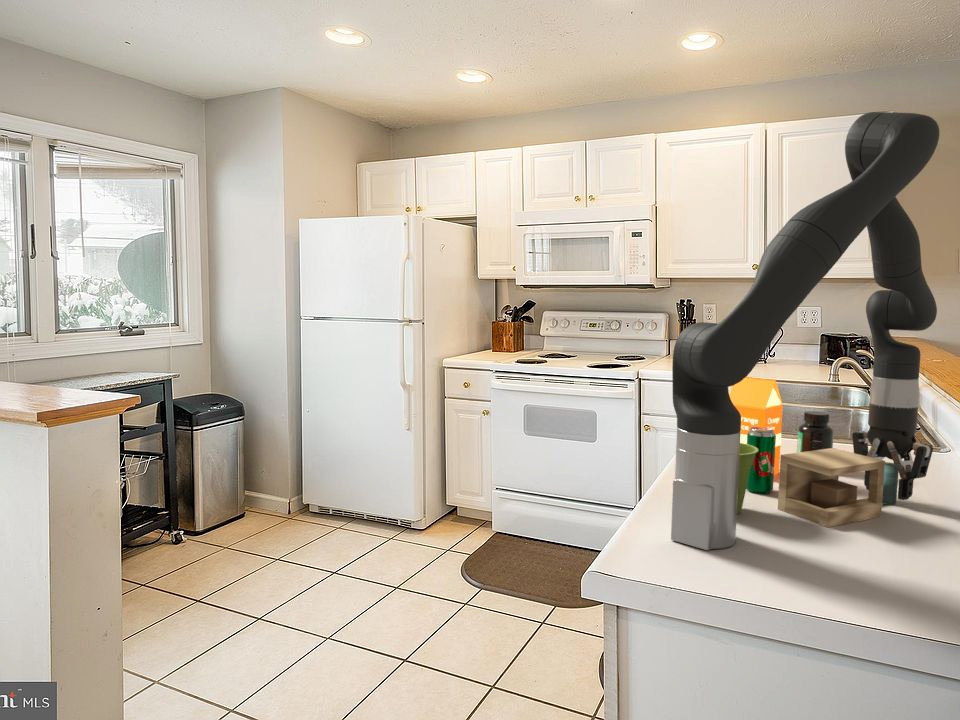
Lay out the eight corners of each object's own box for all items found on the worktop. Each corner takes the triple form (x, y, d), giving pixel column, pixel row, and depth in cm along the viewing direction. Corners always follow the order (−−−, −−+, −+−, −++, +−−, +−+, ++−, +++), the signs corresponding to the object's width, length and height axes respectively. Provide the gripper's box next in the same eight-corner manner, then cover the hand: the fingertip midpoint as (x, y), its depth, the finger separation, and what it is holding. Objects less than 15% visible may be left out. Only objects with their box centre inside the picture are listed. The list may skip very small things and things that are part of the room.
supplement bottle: (793, 469, 147) (797, 413, 146) (798, 462, 153) (801, 409, 152) (829, 473, 144) (833, 417, 142) (832, 466, 150) (836, 412, 148)
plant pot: (767, 509, 121) (770, 446, 119) (735, 526, 112) (739, 458, 111) (704, 494, 129) (706, 435, 128) (670, 509, 121) (673, 445, 119)
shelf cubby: (827, 527, 112) (830, 468, 111) (777, 509, 121) (780, 454, 120) (881, 516, 117) (885, 460, 116) (829, 499, 126) (833, 447, 125)
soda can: (749, 485, 135) (752, 425, 134) (776, 490, 132) (779, 428, 131) (740, 491, 131) (743, 429, 130) (768, 496, 128) (771, 432, 127)
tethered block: (835, 518, 116) (837, 478, 115) (810, 509, 121) (812, 470, 120) (905, 504, 124) (908, 466, 123) (879, 497, 128) (881, 460, 127)
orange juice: (761, 479, 139) (766, 381, 137) (721, 470, 146) (725, 377, 144) (779, 473, 144) (784, 378, 142) (740, 464, 151) (744, 373, 149)
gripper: (948, 407, 118) (940, 503, 120) (870, 395, 131) (864, 481, 133) (919, 410, 115) (912, 508, 117) (843, 397, 128) (837, 486, 130)
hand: (887, 493), depth 125 cm, fingers open, 5 cm apart
